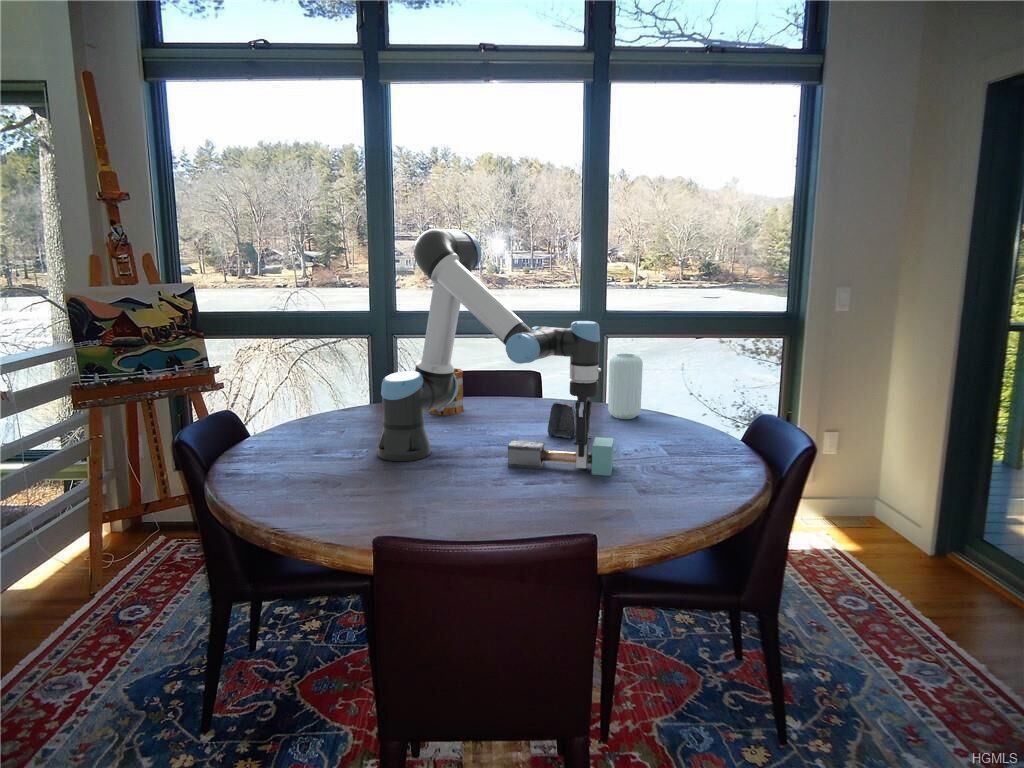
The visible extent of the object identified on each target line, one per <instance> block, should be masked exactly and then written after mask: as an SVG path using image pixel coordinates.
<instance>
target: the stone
mask: <svg viewBox="0 0 1024 768" xmlns="http://www.w3.org/2000/svg"><path fill="white" fill-rule="evenodd" d="M547 434H548V436H553V437H557V438H565V439H570V440H571V439H574V438H576V408H575V404H574V403H573V402H572V403H569V402H565V401H561V402H557V401H556V402H554V403H553V404H552V406H551V408H550V413H549V420H548V424H547Z"/></svg>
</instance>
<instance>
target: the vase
mask: <svg viewBox="0 0 1024 768" xmlns="http://www.w3.org/2000/svg"><path fill="white" fill-rule="evenodd" d="M608 367H609V369H608V371H609V372H608V373H609V374H608V395H607V396H608V399H607V401H608V402H607V409H608V412H609V414H610V415H611V416H612V417H614V418H615V419H619V420H631V419H635V418H636V417H637V416H638V415H639V414H640V413H641V410H642V409H641V408H642V389H643V388H642V387H643V360H642V358H641V357H640V356H638V354H635V353H627V352H626V353H623V352H622V353H617V354H616V353H615V355H613V356H612V357H611V358H610V360H609V366H608Z"/></svg>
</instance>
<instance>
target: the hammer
mask: <svg viewBox="0 0 1024 768" xmlns="http://www.w3.org/2000/svg"><path fill="white" fill-rule="evenodd" d="M589 432H590V430H589V431H588V430H587V437H586V442H587V464H586V467H588V465H591V466H592V452H589V450H590V449H589V447H590V446H589V445H590V439H589V436H590V434H589ZM576 447H577V445H575V448H576ZM541 461H544V462H548V463H549V462H551V463H552V462H553V463H562V464H563V463H564V464H565V463H567V464H576V451H563V450H560V451H559V450H549V449H544V450H541Z"/></svg>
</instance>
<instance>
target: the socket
mask: <svg viewBox="0 0 1024 768" xmlns="http://www.w3.org/2000/svg"><path fill="white" fill-rule="evenodd" d="M614 439H615V438H613V437H602V436H601V437H599V436H595V437H594V441H593V442H592V445H591V446H592V449H591V450H592V452H591V453H592V465H591V475H593V476H594V475H595V476H596V475H597V476H607V477H611V475H612V474H613V473H612V472H613V469H614V468H613V467H614V448H615V447H614V444H615V443H614V442H615V440H614Z"/></svg>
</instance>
